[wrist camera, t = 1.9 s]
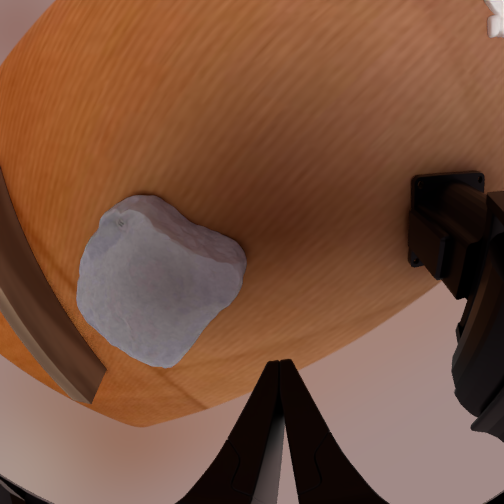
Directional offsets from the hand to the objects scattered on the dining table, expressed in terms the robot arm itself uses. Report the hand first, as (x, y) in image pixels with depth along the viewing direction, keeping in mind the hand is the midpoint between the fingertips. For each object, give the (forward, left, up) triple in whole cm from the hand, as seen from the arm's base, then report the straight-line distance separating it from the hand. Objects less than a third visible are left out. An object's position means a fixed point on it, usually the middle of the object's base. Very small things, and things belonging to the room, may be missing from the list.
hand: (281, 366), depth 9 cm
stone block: (+9, +1, -10) cm, 13 cm away
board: (+22, 0, -9) cm, 24 cm away
